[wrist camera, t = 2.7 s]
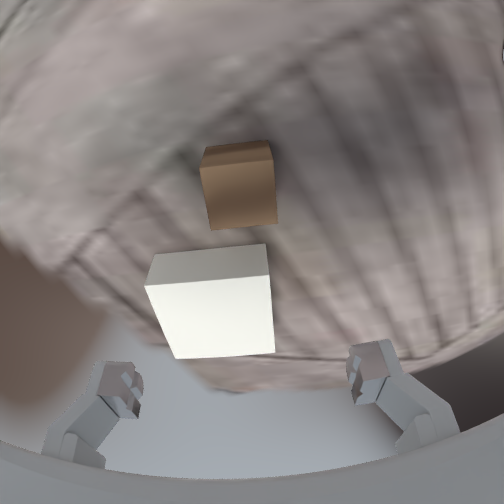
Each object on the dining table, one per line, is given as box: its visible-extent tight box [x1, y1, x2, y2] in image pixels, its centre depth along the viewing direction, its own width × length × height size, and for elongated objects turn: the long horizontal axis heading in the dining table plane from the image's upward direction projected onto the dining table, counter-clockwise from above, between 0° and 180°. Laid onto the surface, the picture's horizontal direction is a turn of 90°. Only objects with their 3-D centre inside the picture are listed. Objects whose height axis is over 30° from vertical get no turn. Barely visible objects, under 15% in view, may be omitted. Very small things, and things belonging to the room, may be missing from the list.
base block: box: [144, 244, 275, 359], centre depth 32 cm, size 11×11×5 cm
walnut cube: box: [199, 140, 278, 230], centre depth 24 cm, size 5×5×5 cm
